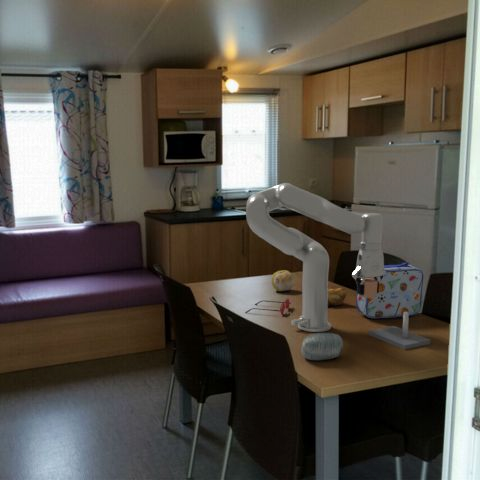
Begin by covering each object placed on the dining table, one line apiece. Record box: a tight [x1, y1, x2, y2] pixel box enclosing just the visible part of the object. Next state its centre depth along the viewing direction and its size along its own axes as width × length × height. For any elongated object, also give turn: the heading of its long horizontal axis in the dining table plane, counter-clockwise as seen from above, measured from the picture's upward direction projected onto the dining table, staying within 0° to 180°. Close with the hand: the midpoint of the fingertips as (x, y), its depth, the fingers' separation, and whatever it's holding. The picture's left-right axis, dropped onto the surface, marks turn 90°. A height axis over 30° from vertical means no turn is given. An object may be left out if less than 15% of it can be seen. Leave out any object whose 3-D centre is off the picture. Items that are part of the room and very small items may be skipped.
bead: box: [359, 278, 378, 298], centre depth 216 cm, size 6×6×6 cm
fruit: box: [271, 269, 295, 292], centre depth 274 cm, size 10×11×10 cm
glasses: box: [244, 298, 292, 315], centre depth 242 cm, size 14×16×5 cm
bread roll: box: [328, 287, 348, 307], centre depth 250 cm, size 13×10×8 cm
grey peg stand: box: [368, 312, 431, 350], centre depth 203 cm, size 12×18×11 cm, turn 28°
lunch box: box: [355, 262, 424, 319], centre depth 232 cm, size 28×10×22 cm, turn 106°
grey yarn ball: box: [301, 332, 344, 361], centre depth 186 cm, size 14×10×10 cm
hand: (367, 292), depth 216 cm, fingers closed on bead, 6 cm apart
